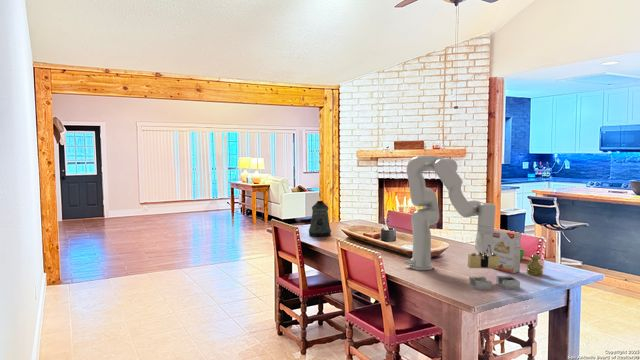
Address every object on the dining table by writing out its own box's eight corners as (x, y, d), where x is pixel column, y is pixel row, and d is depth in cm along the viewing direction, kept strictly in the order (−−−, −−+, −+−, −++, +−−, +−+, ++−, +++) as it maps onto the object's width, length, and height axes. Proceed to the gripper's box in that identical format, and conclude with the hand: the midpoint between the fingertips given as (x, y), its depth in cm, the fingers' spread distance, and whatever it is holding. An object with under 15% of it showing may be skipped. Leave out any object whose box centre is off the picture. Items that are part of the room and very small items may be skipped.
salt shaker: (543, 276, 229) (544, 256, 228) (527, 275, 232) (527, 255, 231) (542, 272, 236) (542, 253, 235) (526, 271, 239) (526, 252, 238)
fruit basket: (516, 256, 271) (516, 237, 270) (527, 259, 262) (527, 240, 262) (500, 258, 267) (500, 238, 266) (510, 261, 259) (511, 241, 258)
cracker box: (489, 268, 245) (490, 229, 244) (496, 266, 249) (497, 228, 247) (513, 274, 234) (514, 233, 232) (520, 272, 237) (521, 232, 235)
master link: (469, 268, 221) (470, 254, 220) (467, 266, 224) (468, 252, 223) (498, 268, 222) (499, 254, 221) (495, 266, 225) (496, 253, 224)
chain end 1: (476, 290, 208) (476, 282, 208) (469, 284, 217) (469, 276, 217) (491, 289, 209) (492, 282, 208) (483, 283, 218) (483, 276, 217)
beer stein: (310, 237, 328) (310, 203, 326) (306, 232, 347) (306, 199, 345) (333, 236, 331) (333, 202, 329) (327, 231, 350) (327, 199, 348)
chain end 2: (504, 289, 209) (504, 281, 209) (496, 283, 218) (496, 276, 218) (519, 289, 209) (519, 281, 209) (510, 283, 218) (510, 275, 218)
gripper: (471, 225, 228) (468, 261, 231) (484, 232, 212) (482, 271, 214) (486, 225, 229) (483, 261, 231) (500, 232, 213) (497, 271, 215)
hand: (482, 265), depth 223 cm, fingers closed on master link, 3 cm apart
